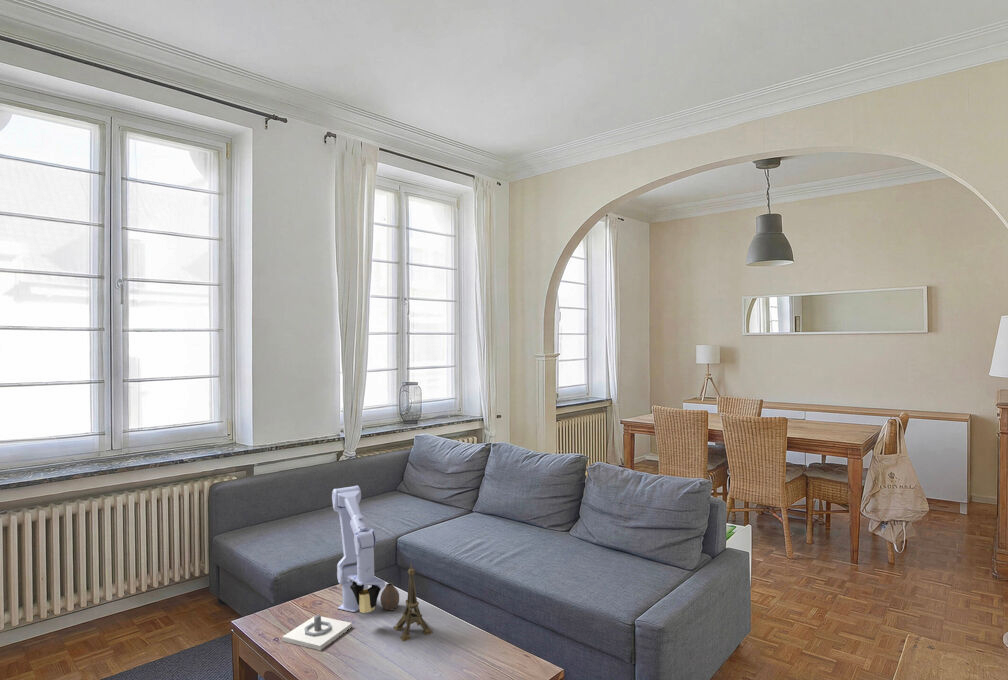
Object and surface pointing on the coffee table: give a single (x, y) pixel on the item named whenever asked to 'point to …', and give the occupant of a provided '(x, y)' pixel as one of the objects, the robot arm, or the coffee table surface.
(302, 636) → the post board
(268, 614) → the coffee table surface
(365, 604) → the collar
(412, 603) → the eiffel tower
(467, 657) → the coffee table surface
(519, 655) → the coffee table surface
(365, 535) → the robot arm
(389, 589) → the vase
